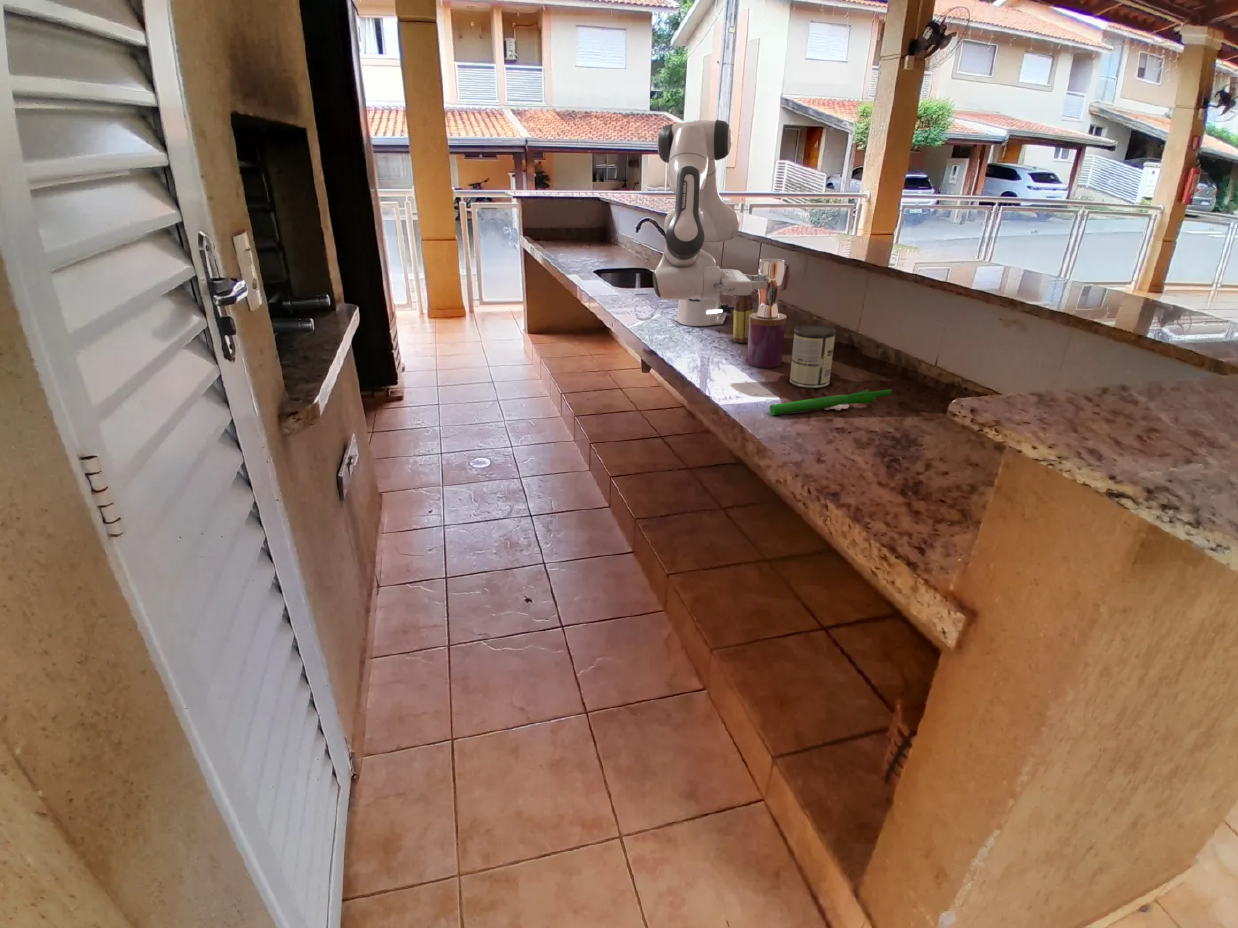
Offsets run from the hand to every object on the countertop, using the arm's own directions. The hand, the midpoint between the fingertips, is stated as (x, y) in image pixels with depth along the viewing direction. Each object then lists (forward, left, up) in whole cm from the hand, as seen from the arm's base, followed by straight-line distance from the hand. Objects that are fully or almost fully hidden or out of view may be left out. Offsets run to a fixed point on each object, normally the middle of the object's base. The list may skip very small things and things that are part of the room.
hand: (762, 281), depth 169 cm
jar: (-1, +2, -23) cm, 23 cm away
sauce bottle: (-22, -10, -23) cm, 34 cm away
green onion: (+30, +25, -23) cm, 45 cm away
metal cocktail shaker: (-1, +2, -10) cm, 10 cm away
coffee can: (+12, +17, -23) cm, 31 cm away
